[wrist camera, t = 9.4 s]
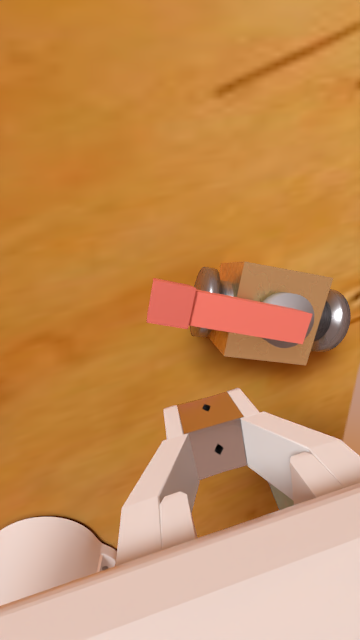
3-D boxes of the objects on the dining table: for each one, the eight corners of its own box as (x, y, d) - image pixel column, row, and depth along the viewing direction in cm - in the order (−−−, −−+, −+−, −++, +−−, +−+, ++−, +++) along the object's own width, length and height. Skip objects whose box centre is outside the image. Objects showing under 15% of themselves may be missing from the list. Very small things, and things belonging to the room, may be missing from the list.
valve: (290, 346, 26) (334, 370, 20) (185, 332, 24) (196, 355, 18) (309, 279, 24) (363, 283, 18) (198, 259, 22) (216, 255, 16)
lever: (310, 297, 18) (348, 304, 15) (295, 346, 19) (326, 364, 16) (155, 265, 16) (156, 264, 13) (146, 322, 17) (144, 336, 13)
